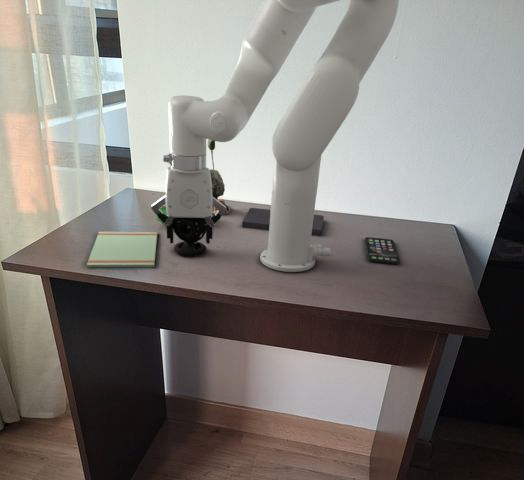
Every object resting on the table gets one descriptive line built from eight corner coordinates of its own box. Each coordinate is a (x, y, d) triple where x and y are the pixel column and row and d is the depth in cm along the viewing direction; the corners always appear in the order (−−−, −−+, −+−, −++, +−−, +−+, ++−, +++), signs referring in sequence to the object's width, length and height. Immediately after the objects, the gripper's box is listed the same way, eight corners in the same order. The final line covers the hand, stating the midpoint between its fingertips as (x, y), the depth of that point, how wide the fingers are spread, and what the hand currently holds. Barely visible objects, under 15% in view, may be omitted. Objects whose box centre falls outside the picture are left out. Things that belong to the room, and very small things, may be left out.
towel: (157, 234, 121) (157, 231, 121) (154, 267, 104) (154, 264, 104) (99, 233, 119) (99, 231, 118) (86, 267, 102) (86, 264, 102)
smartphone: (368, 259, 114) (364, 236, 126) (368, 261, 114) (364, 239, 127) (400, 262, 114) (393, 239, 126) (399, 265, 114) (392, 242, 126)
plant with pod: (195, 215, 135) (194, 138, 124) (209, 204, 144) (210, 131, 133) (223, 219, 134) (224, 142, 123) (235, 207, 143) (238, 135, 132)
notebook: (242, 227, 129) (321, 235, 127) (242, 221, 128) (322, 230, 126) (249, 212, 140) (323, 220, 138) (250, 207, 139) (324, 215, 137)
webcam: (169, 255, 110) (166, 212, 105) (178, 243, 117) (177, 202, 111) (202, 259, 110) (201, 216, 104) (210, 247, 116) (210, 206, 110)
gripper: (145, 164, 98) (150, 247, 107) (231, 167, 100) (228, 247, 110) (147, 156, 104) (152, 235, 114) (227, 159, 107) (226, 236, 116)
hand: (189, 241), depth 112 cm, fingers closed on webcam, 7 cm apart
